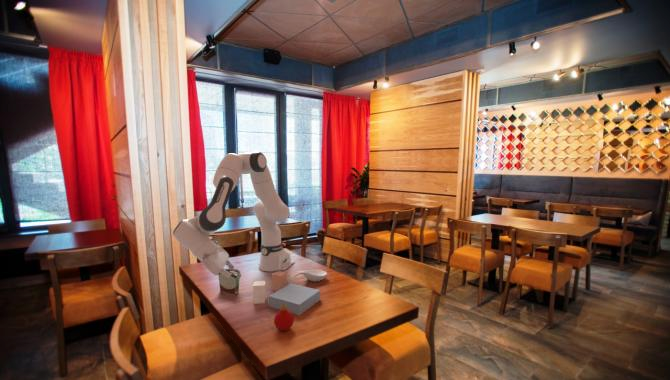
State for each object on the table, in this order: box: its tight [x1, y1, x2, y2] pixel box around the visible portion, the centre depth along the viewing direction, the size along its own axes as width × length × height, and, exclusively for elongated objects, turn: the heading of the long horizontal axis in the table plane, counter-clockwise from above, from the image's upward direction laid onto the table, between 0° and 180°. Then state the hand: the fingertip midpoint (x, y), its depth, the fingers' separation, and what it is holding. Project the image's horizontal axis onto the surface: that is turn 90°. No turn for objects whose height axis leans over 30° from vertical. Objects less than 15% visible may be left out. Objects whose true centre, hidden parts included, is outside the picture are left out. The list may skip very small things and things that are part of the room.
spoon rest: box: [287, 269, 328, 285], centre depth 154 cm, size 24×12×7 cm, turn 135°
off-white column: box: [252, 280, 266, 305], centre depth 132 cm, size 5×5×8 cm
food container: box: [217, 268, 242, 296], centre depth 141 cm, size 12×6×10 cm, turn 65°
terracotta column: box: [271, 270, 288, 292], centre depth 144 cm, size 5×5×8 cm
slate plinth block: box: [267, 283, 321, 316], centre depth 130 cm, size 16×16×5 cm
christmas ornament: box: [273, 303, 295, 332], centre depth 109 cm, size 7×7×10 cm
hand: (231, 272), depth 129 cm, fingers open, 8 cm apart
